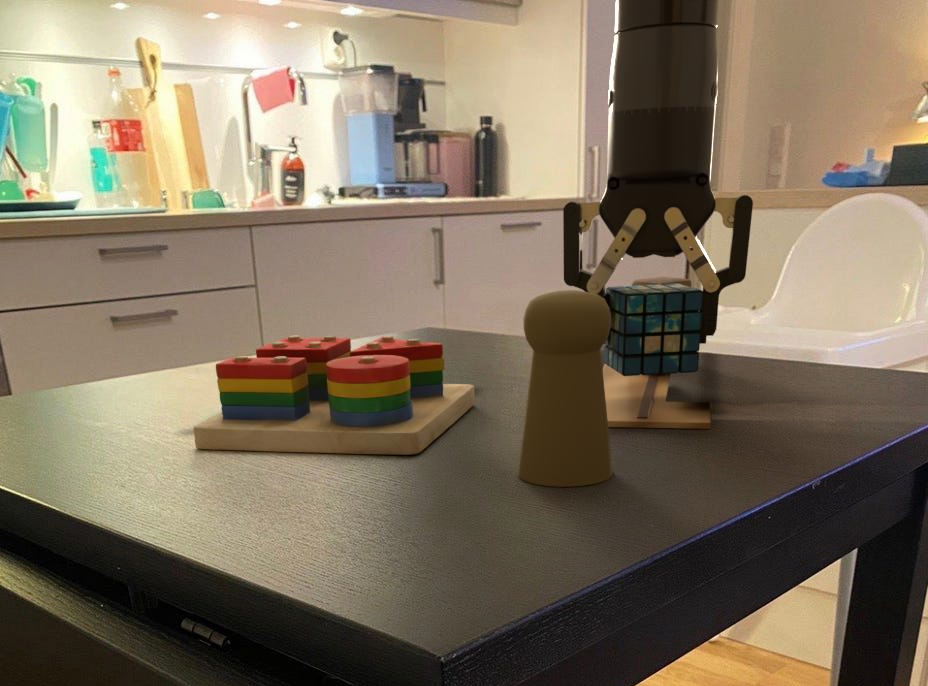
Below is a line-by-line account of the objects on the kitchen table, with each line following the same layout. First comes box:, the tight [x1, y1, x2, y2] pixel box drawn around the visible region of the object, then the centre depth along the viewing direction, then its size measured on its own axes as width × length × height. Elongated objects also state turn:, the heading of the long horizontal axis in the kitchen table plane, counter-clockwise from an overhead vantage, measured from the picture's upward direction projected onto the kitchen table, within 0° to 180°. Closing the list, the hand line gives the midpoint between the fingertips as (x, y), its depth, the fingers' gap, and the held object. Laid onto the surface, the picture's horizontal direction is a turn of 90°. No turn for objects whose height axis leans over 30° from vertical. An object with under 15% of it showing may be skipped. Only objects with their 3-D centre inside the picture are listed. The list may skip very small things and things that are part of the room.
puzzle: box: [603, 283, 703, 376], centre depth 76 cm, size 6×6×6 cm
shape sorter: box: [193, 335, 476, 456], centre depth 76 cm, size 18×17×6 cm
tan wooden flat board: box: [602, 363, 712, 430], centre depth 85 cm, size 10×28×1 cm, turn 166°
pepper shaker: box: [517, 289, 614, 488], centre depth 60 cm, size 6×6×11 cm
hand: (650, 342), depth 77 cm, fingers closed on puzzle, 7 cm apart
